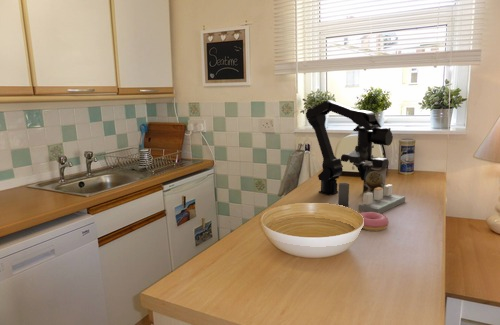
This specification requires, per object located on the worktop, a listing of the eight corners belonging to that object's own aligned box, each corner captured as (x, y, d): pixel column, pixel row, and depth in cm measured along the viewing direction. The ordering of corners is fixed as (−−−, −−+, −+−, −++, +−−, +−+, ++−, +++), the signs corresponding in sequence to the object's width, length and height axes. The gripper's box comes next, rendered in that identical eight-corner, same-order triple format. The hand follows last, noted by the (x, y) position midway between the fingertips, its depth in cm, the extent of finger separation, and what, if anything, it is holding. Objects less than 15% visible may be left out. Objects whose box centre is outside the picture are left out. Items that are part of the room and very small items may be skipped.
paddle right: (383, 195, 152) (384, 185, 152) (387, 193, 155) (388, 184, 154) (388, 196, 151) (388, 186, 150) (392, 194, 153) (392, 185, 153)
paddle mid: (373, 199, 147) (374, 188, 146) (378, 197, 150) (378, 187, 149) (378, 200, 146) (378, 189, 145) (382, 198, 148) (383, 187, 147)
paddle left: (362, 203, 142) (363, 193, 141) (367, 201, 144) (368, 191, 143) (367, 204, 140) (368, 194, 140) (372, 202, 143) (373, 192, 142)
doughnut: (388, 234, 119) (389, 222, 118) (353, 230, 122) (354, 219, 121) (387, 222, 129) (388, 211, 128) (355, 219, 132) (355, 208, 132)
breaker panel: (358, 209, 142) (358, 204, 142) (386, 197, 157) (386, 192, 156) (377, 214, 137) (378, 209, 136) (404, 201, 151) (405, 196, 151)
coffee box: (362, 194, 162) (364, 158, 159) (363, 190, 168) (365, 155, 165) (384, 196, 159) (386, 159, 155) (385, 192, 164) (387, 157, 161)
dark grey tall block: (336, 205, 148) (336, 184, 146) (341, 203, 150) (342, 182, 148) (344, 207, 145) (345, 185, 143) (350, 205, 147) (351, 183, 145)
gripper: (333, 142, 150) (332, 179, 153) (376, 148, 136) (373, 188, 139) (349, 139, 157) (347, 175, 160) (390, 144, 144) (388, 183, 147)
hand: (362, 180), depth 152 cm, fingers closed
